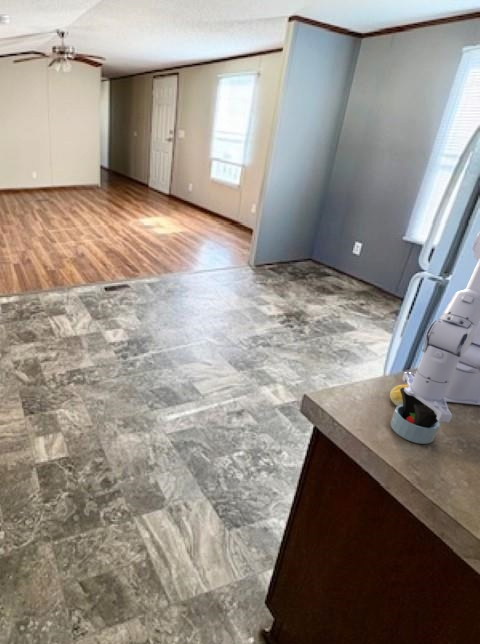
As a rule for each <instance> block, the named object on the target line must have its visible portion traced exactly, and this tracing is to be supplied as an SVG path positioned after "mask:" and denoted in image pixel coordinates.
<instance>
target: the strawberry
mask: <svg viewBox="0 0 480 644" xmlns="http://www.w3.org/2000/svg"><path fill="white" fill-rule="evenodd" d="M410 415H411V416H408V417H407V418H406V419H405V420H407V421H408V422H410V423H412V424H414V420H415V413H410Z"/></svg>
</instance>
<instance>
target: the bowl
mask: <svg viewBox="0 0 480 644" xmlns="http://www.w3.org/2000/svg"><path fill="white" fill-rule="evenodd" d="M389 424H390V427H391V429H392V430H393V432H394V433H396V435H398V436H399V437H401V438H402V439H404V440H406V441H409V442H411V443H415V444H423V445H424V444H425V445H426V444H430V443H432V442H434V440H435V437H436V435H437V433H438V431H439V429H440V425H441V422H440V421H438V422H436V423H435V424H434V425H432V426H431V427H430V428H427V427H421V426H417V425H415V424H412V423H410V422H408V421H407V420H405V419H404V418H403V405H399V406H397V405H396V407H395V409H394V411H393V413H392V417H391V419H390V423H389Z"/></svg>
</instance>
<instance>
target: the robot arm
mask: <svg viewBox="0 0 480 644" xmlns="http://www.w3.org/2000/svg"><path fill="white" fill-rule="evenodd" d="M472 251H473V258H475V260H477V263H476V265H475V267H474V269H473V272H472V274H471V276H470V278H469V280H468V282H467V285H466V287H465V289H462V290H459V291H456V292H454V294H453V295H452V297H451V299H450V300H449V302H448V303H447V305H446V306H445V308H444V310H443V312H442V313H441V315H440V316H439V318H438V320H436V319H435V320H433V321H432V323H431V324H430V325H429V327H428V328H427V330H426V333H425V336H424V341H423V346H422V349H421V351H422V352H423V353H422V356H421V359H420V361H419V363H418V366H417V369H416V372H415V373H414V372H407V371H405V372H404V373H403V375H402V378H401V379H402V381H403V382H405V383H406V384H407V385H408V387H406V388H401V389H400V391H401V394H402V399H403V418H404V419H406V418H407V417H408V416H411V415H410V413H415V420H414V424H415V425H417V426H421V427H427V428H430V427H431V426H432V425H434V424H435V423H436V422H438V421H439V423H441V422H442V423H450V422H451V420H452V417H453V413H451V411H450V409H449V406H448V404H447V403H454V404H465V405H474V406H475V405H476V406H480V230H479V231H478V233H477V235H476V236H475V239H474V241H473V244H472ZM424 404H425V406H424Z"/></svg>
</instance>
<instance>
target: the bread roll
mask: <svg viewBox="0 0 480 644" xmlns="http://www.w3.org/2000/svg"><path fill="white" fill-rule="evenodd" d="M406 387H408V385H407V383H406V384H399V385H396V386H394V387H392V389H391V390H390V394H389V398H390V401H391V402H392V403H393V404H394V405H395V406H396V407H397V406H399V405H403V399H402V394H401V391H400V389H401V388H406ZM424 406H425V404H424Z"/></svg>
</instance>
